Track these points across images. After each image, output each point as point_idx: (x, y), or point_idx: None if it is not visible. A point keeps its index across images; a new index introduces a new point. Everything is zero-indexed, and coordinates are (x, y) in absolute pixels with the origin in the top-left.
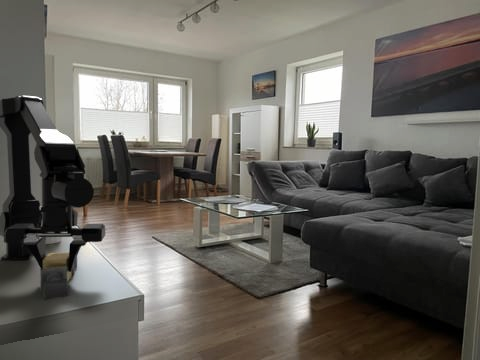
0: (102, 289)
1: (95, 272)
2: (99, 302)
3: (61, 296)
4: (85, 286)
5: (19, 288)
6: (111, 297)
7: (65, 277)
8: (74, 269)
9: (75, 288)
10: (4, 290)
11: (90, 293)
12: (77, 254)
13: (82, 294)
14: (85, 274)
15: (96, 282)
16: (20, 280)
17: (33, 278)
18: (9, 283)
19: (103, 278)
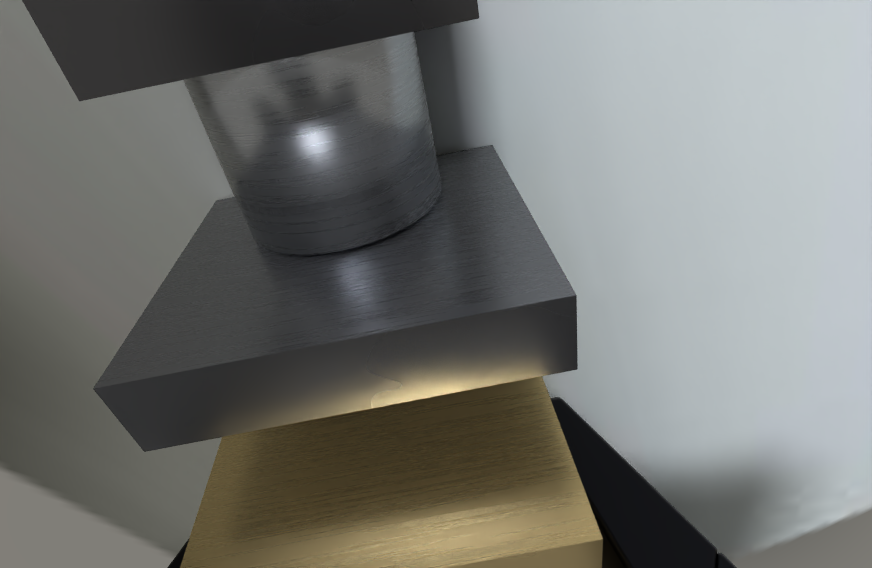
0: (800, 425)
1: (758, 52)
2: (769, 540)
3: None
4: (673, 403)
5: (186, 491)
6: (842, 496)
7: None
8: (506, 174)
9: (604, 438)
10: (111, 524)
11: (718, 478)
12: (731, 565)
13: (668, 493)
14: (633, 144)
15: (761, 329)
16: (26, 381)
17: (105, 325)
18: (3, 441)
19: (837, 236)
